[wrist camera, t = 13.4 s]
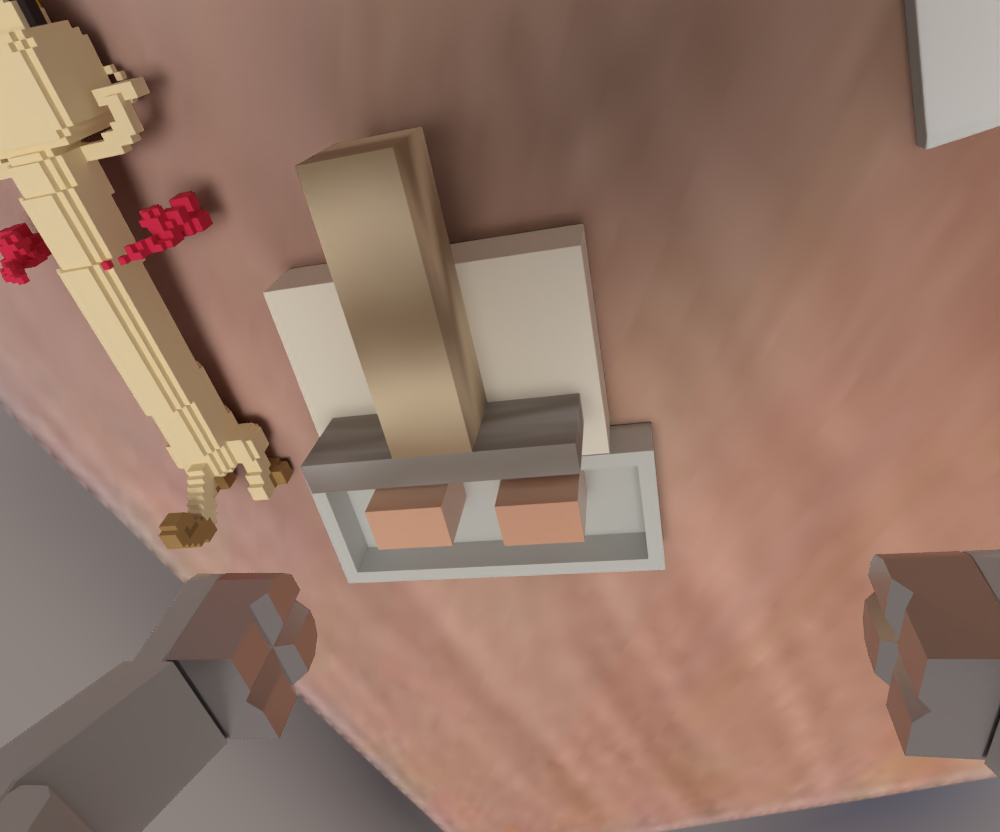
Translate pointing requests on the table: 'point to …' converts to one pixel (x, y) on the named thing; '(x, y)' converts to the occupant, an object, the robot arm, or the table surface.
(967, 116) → the external hard drive
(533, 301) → the board
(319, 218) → the scraper
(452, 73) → the table surface
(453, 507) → the tile
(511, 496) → the tile
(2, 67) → the beige long curved piece
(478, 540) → the tray
